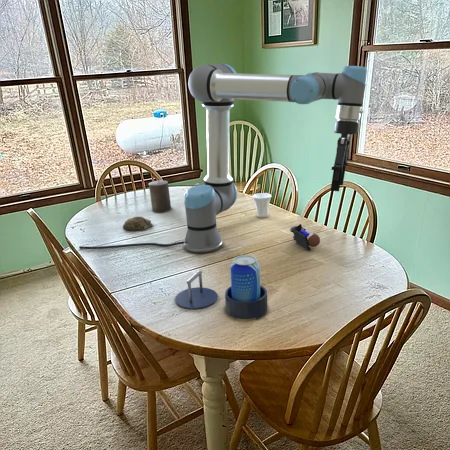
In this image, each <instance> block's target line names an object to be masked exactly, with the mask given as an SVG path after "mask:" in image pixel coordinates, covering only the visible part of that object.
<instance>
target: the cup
mask: <svg viewBox="0 0 450 450" xmlns="http://www.w3.org/2000/svg"><path fill="white" fill-rule="evenodd" d="M252 199H253V202H254V205H255V208H256V216H257V218H260V219H264V218H268V217H269V216H270V215H269V214H270V213H269V208H270V202H271V199H272V194H271V193H268V192H258V193H254V194H252Z"/></svg>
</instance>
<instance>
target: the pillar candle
mask: <svg viewBox="0 0 450 450" xmlns="http://www.w3.org/2000/svg"><path fill="white" fill-rule="evenodd" d="M169 187H170V186H169V181H167V180H154V181H151V182H148V189H149V196H150V197H149V198H150V203H151V204H150V205H151V209H152V212H155V213H165V212H168V211H170V210H172V204H171V203H172V202H171V195H170V188H169Z"/></svg>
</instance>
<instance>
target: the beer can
mask: <svg viewBox="0 0 450 450" xmlns="http://www.w3.org/2000/svg"><path fill="white" fill-rule="evenodd" d="M260 285H261V265H260V264H259V262H258V260H257V257H256V256H254V255H250V254H241V255H238V256H237V255H236V256H235V257H234V258H233V262H232V263H231V265H230V287H231V289H232V299H233V300H235V301H241V302H249V301H255V300H258V299H260Z"/></svg>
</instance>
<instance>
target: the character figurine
mask: <svg viewBox="0 0 450 450" xmlns="http://www.w3.org/2000/svg"><path fill="white" fill-rule="evenodd" d="M289 231H290V233H292V234H293V235H292V239H293V240H294V241H295V243H296V244H297V245H299V246H300V247H302V248H303V249H305V250H306V251H308V252H310V251H311V248H315V247H318V246H319V245H320V244H321V237H320V236H319V234H317V233H310V232H308V231H307V229H306V228H305V227H304V226H302V223H300V224H298V225H295V226H292V227H290V229H289Z"/></svg>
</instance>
